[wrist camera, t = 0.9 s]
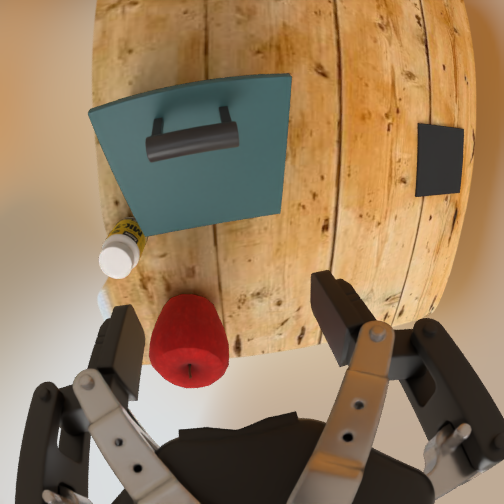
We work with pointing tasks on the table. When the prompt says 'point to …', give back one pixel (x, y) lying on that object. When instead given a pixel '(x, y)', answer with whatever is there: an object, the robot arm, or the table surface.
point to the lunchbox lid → (199, 150)
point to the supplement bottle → (122, 248)
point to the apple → (189, 342)
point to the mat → (439, 160)
